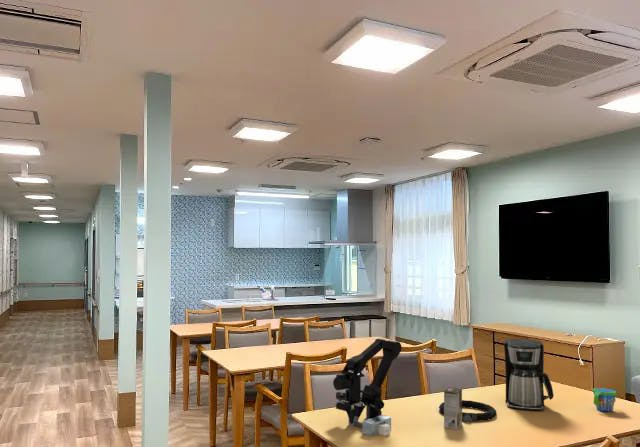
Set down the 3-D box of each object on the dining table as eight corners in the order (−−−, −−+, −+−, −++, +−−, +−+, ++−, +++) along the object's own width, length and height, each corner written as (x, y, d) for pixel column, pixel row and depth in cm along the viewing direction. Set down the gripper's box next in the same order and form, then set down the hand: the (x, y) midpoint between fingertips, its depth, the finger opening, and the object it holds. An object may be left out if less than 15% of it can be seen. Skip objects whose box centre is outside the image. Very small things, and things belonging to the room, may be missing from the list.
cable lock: (495, 401, 275) (498, 417, 246) (495, 409, 274) (498, 426, 246) (440, 397, 282) (437, 411, 253) (439, 404, 282) (436, 420, 253)
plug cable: (347, 424, 242) (347, 416, 242) (353, 423, 245) (353, 414, 245) (386, 436, 227) (386, 427, 227) (392, 434, 230) (392, 425, 230)
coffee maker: (513, 411, 269) (513, 343, 272) (488, 395, 302) (488, 335, 304) (557, 411, 271) (556, 344, 274) (527, 395, 303) (527, 335, 306)
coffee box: (448, 422, 249) (448, 386, 250) (462, 424, 246) (462, 388, 247) (443, 427, 241) (443, 390, 242) (457, 429, 238) (457, 392, 239)
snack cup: (605, 406, 283) (605, 386, 284) (624, 411, 274) (624, 391, 275) (585, 409, 277) (584, 389, 278) (603, 414, 267) (603, 393, 268)
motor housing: (362, 433, 230) (362, 421, 230) (381, 426, 240) (382, 414, 240) (371, 436, 226) (371, 423, 227) (391, 429, 237) (391, 417, 237)
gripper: (354, 381, 256) (353, 414, 254) (327, 387, 242) (326, 422, 241) (372, 385, 248) (372, 420, 247) (345, 392, 234) (345, 428, 233)
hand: (353, 422), depth 242 cm, fingers closed on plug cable, 3 cm apart
